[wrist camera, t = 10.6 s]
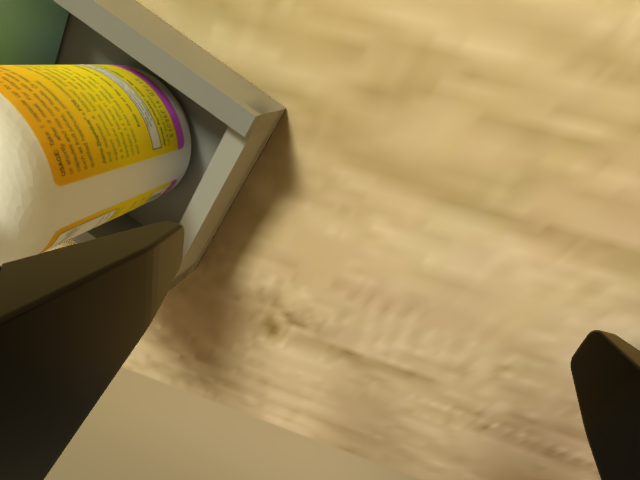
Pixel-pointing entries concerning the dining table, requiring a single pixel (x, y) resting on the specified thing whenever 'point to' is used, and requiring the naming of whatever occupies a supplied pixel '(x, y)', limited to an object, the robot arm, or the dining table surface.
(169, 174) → the supplement bottle
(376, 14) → the dining table surface
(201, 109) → the tray
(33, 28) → the pusher plate
